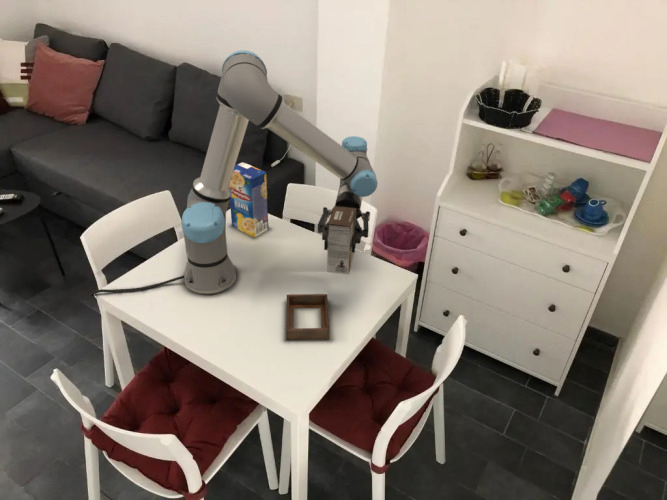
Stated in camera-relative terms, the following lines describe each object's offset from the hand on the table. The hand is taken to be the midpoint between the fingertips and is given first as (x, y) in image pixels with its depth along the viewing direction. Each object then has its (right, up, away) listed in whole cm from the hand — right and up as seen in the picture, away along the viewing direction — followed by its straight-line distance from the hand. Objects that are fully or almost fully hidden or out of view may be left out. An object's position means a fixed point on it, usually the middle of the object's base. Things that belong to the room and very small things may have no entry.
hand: (339, 246), depth 141 cm
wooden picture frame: (-9, -21, +9) cm, 24 cm away
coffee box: (0, -5, +10) cm, 11 cm away
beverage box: (-30, +7, +46) cm, 55 cm away
